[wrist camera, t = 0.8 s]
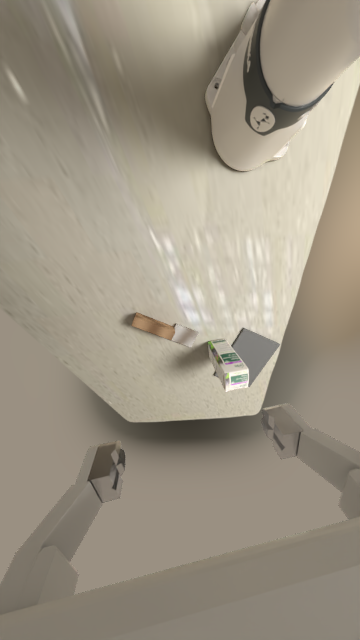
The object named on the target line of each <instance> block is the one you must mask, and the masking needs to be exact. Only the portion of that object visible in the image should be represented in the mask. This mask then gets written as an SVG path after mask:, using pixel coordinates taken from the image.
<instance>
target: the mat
mask: <svg viewBox="0 0 360 640" xmlns="http://www.w3.org/2000/svg"><path fill="white" fill-rule="evenodd" d="M279 345H280V344H279V343H277V342H275V341H272V340H270V339H268V338H265V337H263V336H261V335H259V334H256V333H254V332H252V331H250V330H247V329H245V328H243V329H242V331H241V332H240V334H239V336H238V337H237V339H236V340H235V342H234V344H233V345H232V348H233V349H234V351H235V352H236V353H237V354H238V356H239V357H240V358H241V359H242V361H243V362H244V363H245V365H246V366H247V367H248V369H249V383H248V387H250V385H251V384H252V383H253V381H254V380H255V378H256V377H257V376H258V374H259V373H260V372H261V370H262V369H263V367H264V366H265V365H266V363H267V362H268V361H269V359H270V358H271V356H272V355H273V354H274V352H275V351H276V350H277V348H278V347H279ZM214 376H217V377H218V375H217V373H216V372H215V374H214Z"/></svg>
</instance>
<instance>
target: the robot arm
mask: <svg viewBox="0 0 360 640" xmlns="http://www.w3.org/2000/svg"><path fill="white" fill-rule="evenodd" d="M359 57H360V0H258V1H257V3H256V5H255V3H253V2H252V3H251V5H250V7H249V9H248V11H247V13H246V15H245V18H244V20H243V23H242V25H241V30H240V32H239V34H238V36H237V37H236V39H235V41H234V42H233V44H232V46H231V48H230V49H229V51H228V53H227V54H226V56H225V58H224V60H223V61H222V63H221V65H220V67H219V68H218V70H217V72H216V73H215V75H214V77H213V79H212V80H211V82H210V84H209V85H208V88H207V90H206V93H205V101H206V104H207V107H208V110H209V113H210V115H211V125H212V136H213V141H214V144H215V147H216V150H217V152H218V154H219V155H220V157H221V158H222V160H223V161H224V162H225V163H226V164H227V165H228V166H230V167H231V168H233V169H236V170H239V171H250V170H253V169H256V168H258V167H259V166H261V165H262V164H264V163H265V162H267V161H272V160H278V159H280V158H282V157H283V156H284V154H285V153H286V151H287V149H288V146H289V143H290V140H291V139H292V138H293V137H294V136H295V135H296V134H297V133H298V132H299V131H300V130H301V129H302V128H303V127H304V126H305V124H306V119H307V117H308V114H309V112H310V111H311V110H312V109H313V108H314V107H315V106H316V105H317V104H318V103H319V102H320V100H321V99H322V98H323V97H324V96H325V94H326V93H327V92H328V91H329V89H330V88H331V86H332V85H333V83H334V82H335V80H336V79H337V78H338V77H339V76H340V75H341V74H342V73H343V72H344V71H346V70H347V69H348V68H349V67H350V66H351V65H352V64H353V63H354V62H355V61H356V60H357V59H358V58H359ZM215 86H217V87H218V89H215ZM262 415H263V418H262V419H261V423H262V427H263V430H264V432H265V434H266V436H267V437H268V438H269V439H271V440H272V441H273V447H274V449H275V450H276V452H277V454H278V455H279V457H280V458H281V459H285V458H290V457H295V456H297V458H299V459H300V460H301V461H302V462H304V463H305V464H306V465H308V466H309V467H310V468H311V469H313V470H314V471H315V472H317V473H318V474H319V475H320V476H322V477H323V478H324V479H325V480H327V481H328V482H329V483H331V484H332V485H333V486H334V487H336V488H337V489H338V490H340V491H341V492H342V494H341V496H340V499H339V507H340V508H341V510H342V511H343V512H344V514H345V515H346V517H347V518H348V519H349V520H346V521H342V522H339V523H335V524H331V525H328V526H324V527H321V528H317V529H313V530H309V531H306V532H302V533H299V534H295V535H291V536H288V537H284V538H280V539H276V540H273V541H269V542H265V543H262V544H258V545H255V546H251V547H247V548H243V549H240V550H236V551H232V552H229V553H225V554H222V555H218V556H214V557H210V558H207V559H203V560H200V561H196V562H192V563H188V564H185V565H181V566H177V567H174V568H170V569H166V570H163V571H159V572H156V573H152V574H148V575H144V576H141V577H137V578H134V579H130V580H126V581H122V582H119V583H115V584H112V585H108V586H104V587H100V588H97V589H93V590H90V591H86V592H82V593H78V594H75V595H74V592H75V588H76V584H77V580H78V576H79V575H78V572H77V570H76V569H75V568H74V567H73V566H72V564H71V563H70V561H71V559H72V558H73V555H74V554H75V552H76V550H77V549H78V547H79V545H80V543H81V541H82V540H83V538H84V536H85V534H86V533H87V531H88V529H89V527H90V526H91V524H92V522H93V520H94V519H95V517H96V515H97V513H98V511H99V510H100V508H101V506H102V503H104V502H108V501H112V500H115V499H118V498H120V495H121V489H122V483H123V481H122V479H121V475H122V474H123V472H124V470H125V452H124V450H123V449H121V442H120V441H115V442H109V443H104V444H99V445H94V446H90V448H89V449H88V451H87V454H86V456H85V459H84V461H83V464H82V467H81V470H80V472H79V475H78V478H77V480H76V483H75V484H74V485H72V486H71V487H70V488H69V489H68V490H67V492H66V493H65V494H64V495H63V496H62V498H61V499H60V500H59V501H58V503H57V504H56V505H55V506H54V507H53V509H52V510H51V511H50V512H49V513H48V515H47V516H46V517H45V518H44V519H43V521H42V522H41V523H40V524H39V526H38V527H37V528H36V529H35V530H34V532H33V533H32V534H31V535H30V537H29V538H28V539H27V540H26V541H25V542H24V544H23V545H22V546H21V547H20V548H19V550H18V551H17V552H16V553H15V555H14V557H13V560H12V562H11V564H10V566H9V568H8V570H7V572H6V574H5V576H4V578H3V580H2V582H1V584H0V640H360V452H359V451H357V450H355V449H354V448H351V447H350V446H348V445H346V444H344V443H342V442H340V441H338V440H336V439H335V438H333V437H331V436H329V435H327V434H325V433H323V432H321V431H319V430H318V429H312V427H311V426H310V425H309V424H308V423H307V422H306V421H305V420H304V419H303V418H302V417H301V415H300V414H299V413H298V412H297V411H296V410H295V409H294V408H293V407H292V406H291V405H290V404H289V403H286V404H282V405H276V406H272V407H268V408H263V409H262Z"/></svg>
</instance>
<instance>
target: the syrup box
mask: <svg viewBox="0 0 360 640" xmlns="http://www.w3.org/2000/svg"><path fill="white" fill-rule="evenodd" d="M208 350H209V358H210V360H211V362H212V364H213V366H214V368H215V370H216V373H217V375H218V377H219V379H220V381H221V383H222V385H223V387H224V389H225V391H226V392H227V391H230V390H237V389H242V388H247V387H248V383H249V369H248V367H247V366H246V365H245V363H244V362H243V361H242V359H241V358H240V357H239V356H238V354H237V353H236V352H235V351H234V349H233V348H232V347H231V345H230V344H229V343H228V341H227V340H226V339H221V340H215V341H209V342H208Z"/></svg>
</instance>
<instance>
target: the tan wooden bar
mask: <svg viewBox="0 0 360 640" xmlns="http://www.w3.org/2000/svg"><path fill="white" fill-rule="evenodd" d="M131 326H134V327H136V328H139V329H142V330H145V331H147V332H150V333H153V334H155V335H158V336H161V337H164V338H166V339H169V340H172V341H175V342H177V343H180V344H183V345H186V346H188V347H191V346H192V344H193V342H194V341H195V339H196V337H197V335H198V332H197V331H194V330H192V329H189V328H187V327H184V326H182V325H179V324H177V323H176V325H175V327H173V326H170V325H168V324H165V323H162V322H160V321H157V320H155V319H152V318H150V317H147V316H145V315H142V314H140V313H136V315H135V318H134V320H133V323H132V325H131Z"/></svg>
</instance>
